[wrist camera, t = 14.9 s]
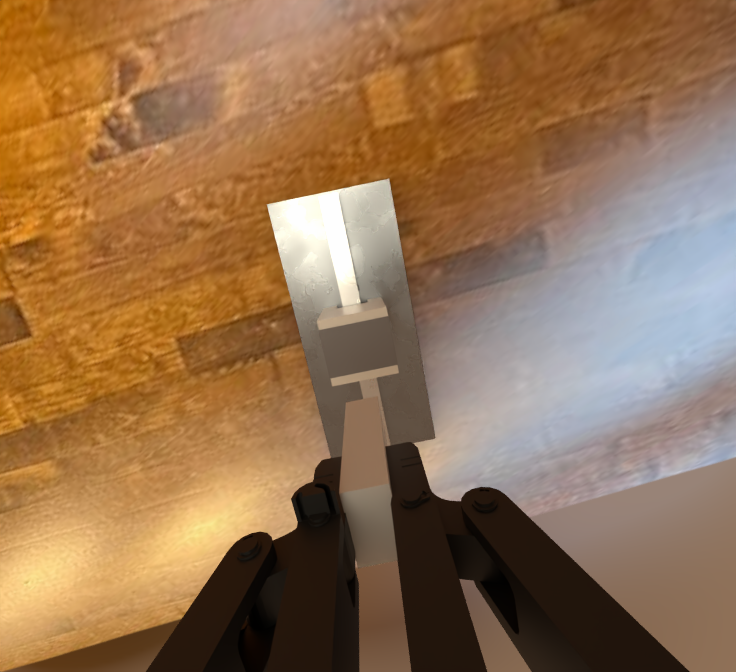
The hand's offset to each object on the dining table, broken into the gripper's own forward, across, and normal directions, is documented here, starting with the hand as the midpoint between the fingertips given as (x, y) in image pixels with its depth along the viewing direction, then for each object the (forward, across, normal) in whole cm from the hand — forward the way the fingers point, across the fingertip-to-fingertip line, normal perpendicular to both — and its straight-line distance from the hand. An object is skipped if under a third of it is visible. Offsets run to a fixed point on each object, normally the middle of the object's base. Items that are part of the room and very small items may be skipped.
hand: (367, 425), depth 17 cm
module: (+22, 0, 0) cm, 22 cm away
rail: (+23, 0, 0) cm, 23 cm away
